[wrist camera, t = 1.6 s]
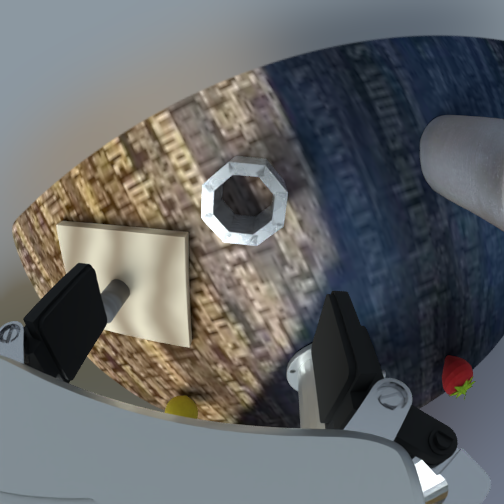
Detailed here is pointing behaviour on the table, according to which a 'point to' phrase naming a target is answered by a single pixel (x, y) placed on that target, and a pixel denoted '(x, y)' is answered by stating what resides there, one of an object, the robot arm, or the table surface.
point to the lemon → (182, 407)
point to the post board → (135, 277)
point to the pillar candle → (466, 163)
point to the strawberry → (456, 376)
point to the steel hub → (244, 226)
